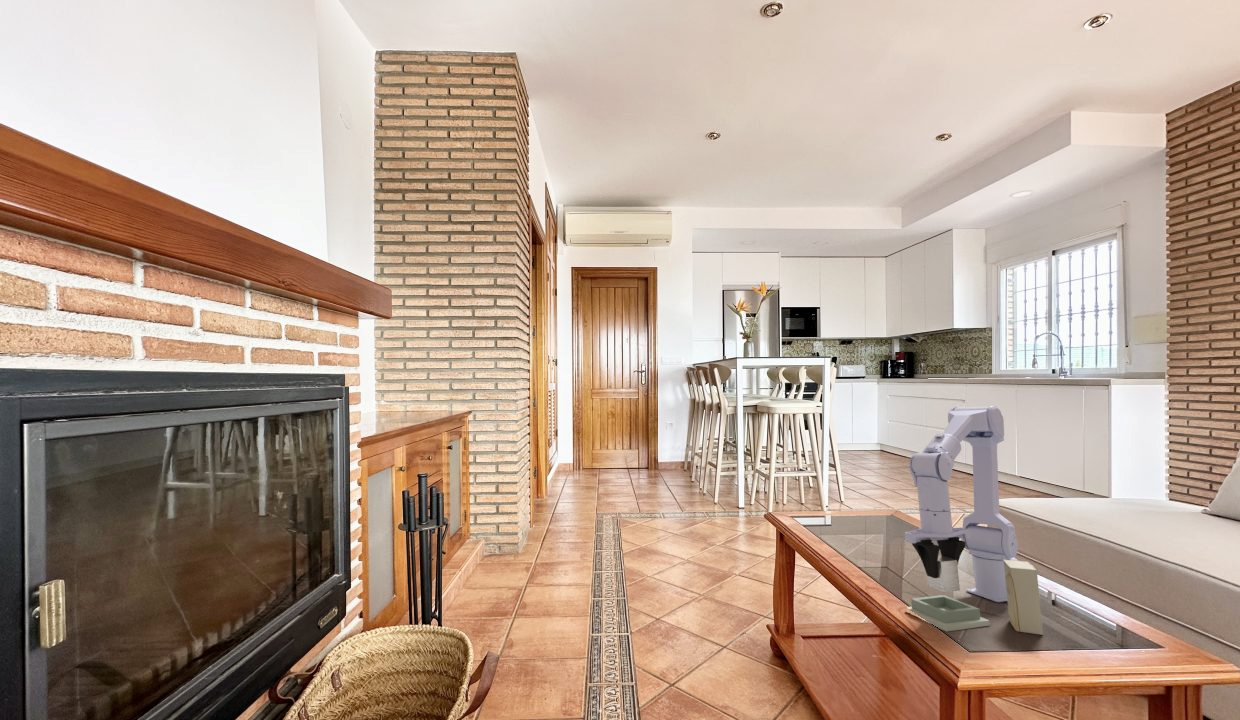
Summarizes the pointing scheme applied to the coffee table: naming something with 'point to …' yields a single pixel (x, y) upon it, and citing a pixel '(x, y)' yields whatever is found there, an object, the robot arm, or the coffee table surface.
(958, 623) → the tray
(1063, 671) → the coffee table surface
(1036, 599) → the skincare box
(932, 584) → the aluminium block
